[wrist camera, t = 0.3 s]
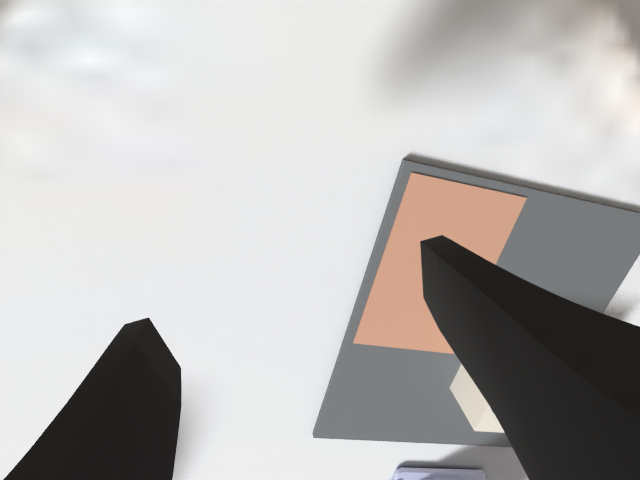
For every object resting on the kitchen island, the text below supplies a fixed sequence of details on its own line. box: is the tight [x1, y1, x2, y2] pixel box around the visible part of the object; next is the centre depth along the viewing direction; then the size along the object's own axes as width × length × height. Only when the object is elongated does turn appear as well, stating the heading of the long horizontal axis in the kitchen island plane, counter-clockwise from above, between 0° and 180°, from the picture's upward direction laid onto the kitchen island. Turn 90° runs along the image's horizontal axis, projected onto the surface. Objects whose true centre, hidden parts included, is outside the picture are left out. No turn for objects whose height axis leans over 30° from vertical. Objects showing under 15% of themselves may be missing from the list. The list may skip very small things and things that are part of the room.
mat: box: [313, 159, 640, 447], centre depth 26 cm, size 20×17×1 cm
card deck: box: [450, 364, 505, 433], centre depth 26 cm, size 5×8×4 cm, turn 76°
